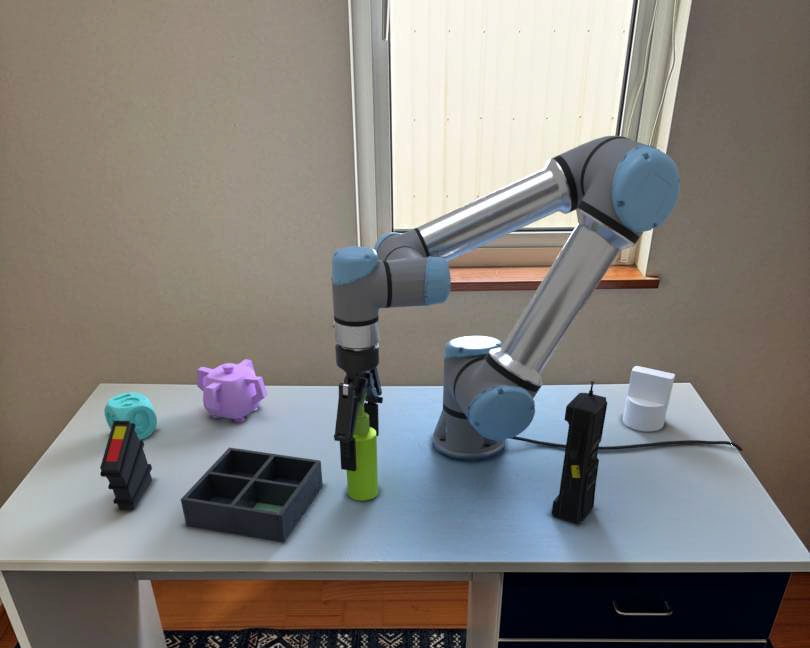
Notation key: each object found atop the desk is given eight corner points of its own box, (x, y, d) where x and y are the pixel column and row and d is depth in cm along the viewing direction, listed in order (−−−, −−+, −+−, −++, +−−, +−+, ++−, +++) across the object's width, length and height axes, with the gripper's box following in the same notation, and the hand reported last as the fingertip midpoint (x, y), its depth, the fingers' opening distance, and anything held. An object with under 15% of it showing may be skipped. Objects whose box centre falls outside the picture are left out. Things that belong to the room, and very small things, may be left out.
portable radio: (579, 528, 137) (600, 403, 122) (548, 518, 140) (565, 395, 125) (594, 508, 142) (616, 385, 127) (564, 498, 145) (582, 377, 130)
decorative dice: (141, 421, 171) (134, 388, 166) (160, 433, 166) (153, 400, 162) (109, 433, 166) (100, 400, 162) (127, 445, 162) (118, 412, 157)
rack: (322, 485, 149) (320, 460, 145) (284, 542, 134) (281, 515, 130) (233, 472, 153) (229, 447, 150) (186, 525, 138) (180, 499, 135)
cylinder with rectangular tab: (617, 425, 169) (626, 375, 162) (630, 409, 175) (639, 360, 168) (656, 435, 165) (668, 384, 158) (668, 419, 171) (680, 369, 164)
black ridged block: (158, 464, 152) (132, 419, 139) (144, 521, 146) (115, 479, 133) (139, 464, 152) (112, 418, 139) (125, 520, 146) (94, 479, 133)
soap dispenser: (380, 482, 150) (378, 389, 138) (375, 501, 144) (373, 406, 132) (351, 480, 150) (346, 388, 138) (345, 499, 145) (340, 405, 133)
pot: (223, 390, 184) (216, 344, 177) (287, 402, 179) (282, 355, 172) (180, 423, 170) (171, 375, 163) (248, 436, 165) (241, 387, 158)
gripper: (359, 316, 140) (362, 419, 152) (310, 369, 120) (318, 482, 133) (398, 320, 138) (398, 424, 151) (354, 374, 119) (358, 488, 131)
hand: (360, 451), depth 142 cm, fingers open, 13 cm apart
